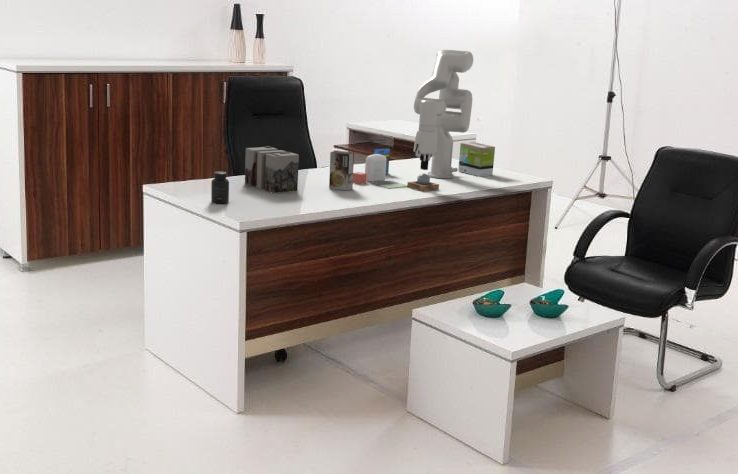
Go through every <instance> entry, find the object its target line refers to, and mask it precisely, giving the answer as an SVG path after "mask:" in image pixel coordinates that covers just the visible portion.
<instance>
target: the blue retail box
mask: <svg viewBox="0 0 738 474" xmlns="http://www.w3.org/2000/svg"><path fill="white" fill-rule="evenodd" d="M390 149H391V148H374V149H373V151H374V152H373V154H380V155H384V156H386V160H387V161H386V175H387V174H389V169H390V167H389V166H390Z"/></svg>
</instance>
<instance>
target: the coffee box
mask: <svg viewBox="0 0 738 474" xmlns="http://www.w3.org/2000/svg"><path fill="white" fill-rule="evenodd" d="M329 154H330V155H329V156H330V157H329V178H328V179H329V185H328V189H332V190H340V191H341V190H342V191H348V192H349V191H350V190H352V189H354V188H353V187H354V185H353V184H354V183H353V173H354V166H355V165H354V161H355V159H354V158H355V151H353V152H352V151H345V150H333V151H330V153H329Z"/></svg>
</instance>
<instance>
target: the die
mask: <svg viewBox="0 0 738 474" xmlns="http://www.w3.org/2000/svg"><path fill="white" fill-rule="evenodd" d="M366 178H367V173H365V172H359V171H357V172H353V184H357V185H363V184H367V181H366Z"/></svg>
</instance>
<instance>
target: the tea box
mask: <svg viewBox="0 0 738 474" xmlns="http://www.w3.org/2000/svg"><path fill="white" fill-rule="evenodd" d="M495 151H496V147H495V146H493V145H489V144H484V143H480V142H476V141H471V142H461V143H460V147H459V157H458V158H459V159H458V168H457V169H458V171H457V172H458V173H459V172H461V173H465V174H469V175H472V176H474V177H475V176H476V177H478V176H479V177H478V178H480V177H481V176H482V177H487V176H493V174H494V173H493V172H494V165H495V163H494V161H495V153H496V152H495ZM482 177H481V178H482Z"/></svg>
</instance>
